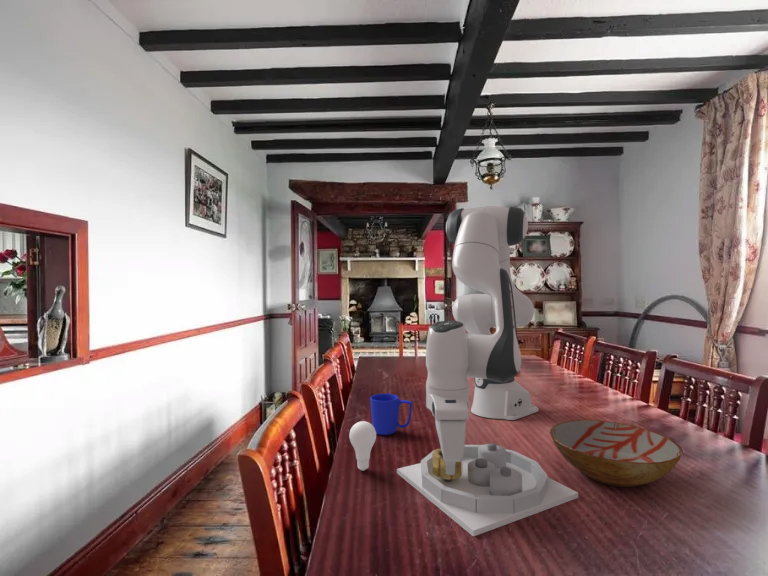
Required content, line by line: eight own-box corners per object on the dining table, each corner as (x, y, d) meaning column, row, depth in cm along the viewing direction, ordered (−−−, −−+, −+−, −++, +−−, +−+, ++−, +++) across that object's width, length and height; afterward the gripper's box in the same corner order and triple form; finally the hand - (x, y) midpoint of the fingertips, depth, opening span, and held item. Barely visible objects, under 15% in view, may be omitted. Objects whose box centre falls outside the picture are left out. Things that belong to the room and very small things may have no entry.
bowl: (690, 520, 71) (689, 474, 71) (539, 484, 85) (539, 446, 85) (677, 466, 93) (677, 431, 93) (559, 444, 106) (559, 413, 106)
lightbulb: (349, 465, 95) (349, 418, 95) (375, 463, 95) (375, 417, 95) (349, 477, 89) (349, 427, 89) (377, 475, 89) (377, 425, 89)
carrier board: (487, 450, 102) (486, 426, 102) (578, 497, 79) (577, 467, 79) (397, 473, 90) (396, 446, 90) (473, 536, 67) (472, 500, 67)
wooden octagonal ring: (450, 464, 89) (450, 446, 89) (468, 475, 84) (467, 455, 84) (427, 470, 86) (427, 451, 86) (444, 481, 81) (444, 461, 81)
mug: (410, 439, 110) (410, 402, 110) (367, 436, 113) (367, 400, 113) (414, 428, 119) (413, 394, 119) (374, 426, 121) (373, 392, 121)
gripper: (428, 386, 95) (429, 445, 95) (436, 413, 75) (436, 488, 75) (455, 386, 95) (456, 445, 95) (470, 414, 75) (471, 488, 75)
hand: (447, 465), depth 85 cm, fingers closed on wooden octagonal ring, 6 cm apart
